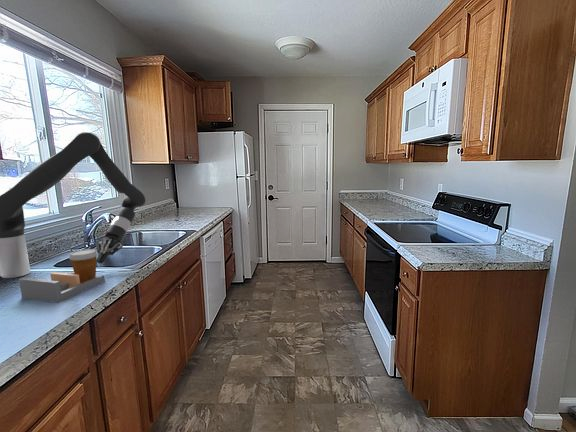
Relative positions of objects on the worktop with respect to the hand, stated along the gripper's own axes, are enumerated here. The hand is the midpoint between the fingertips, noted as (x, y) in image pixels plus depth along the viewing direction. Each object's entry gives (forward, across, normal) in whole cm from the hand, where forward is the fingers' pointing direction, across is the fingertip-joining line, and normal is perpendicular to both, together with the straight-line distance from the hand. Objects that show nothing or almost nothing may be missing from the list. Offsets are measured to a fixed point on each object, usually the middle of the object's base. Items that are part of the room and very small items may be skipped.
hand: (99, 262), depth 127 cm
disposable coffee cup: (+9, 0, -1) cm, 9 cm away
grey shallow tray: (+14, 0, -7) cm, 16 cm away
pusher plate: (+15, 0, -8) cm, 17 cm away
